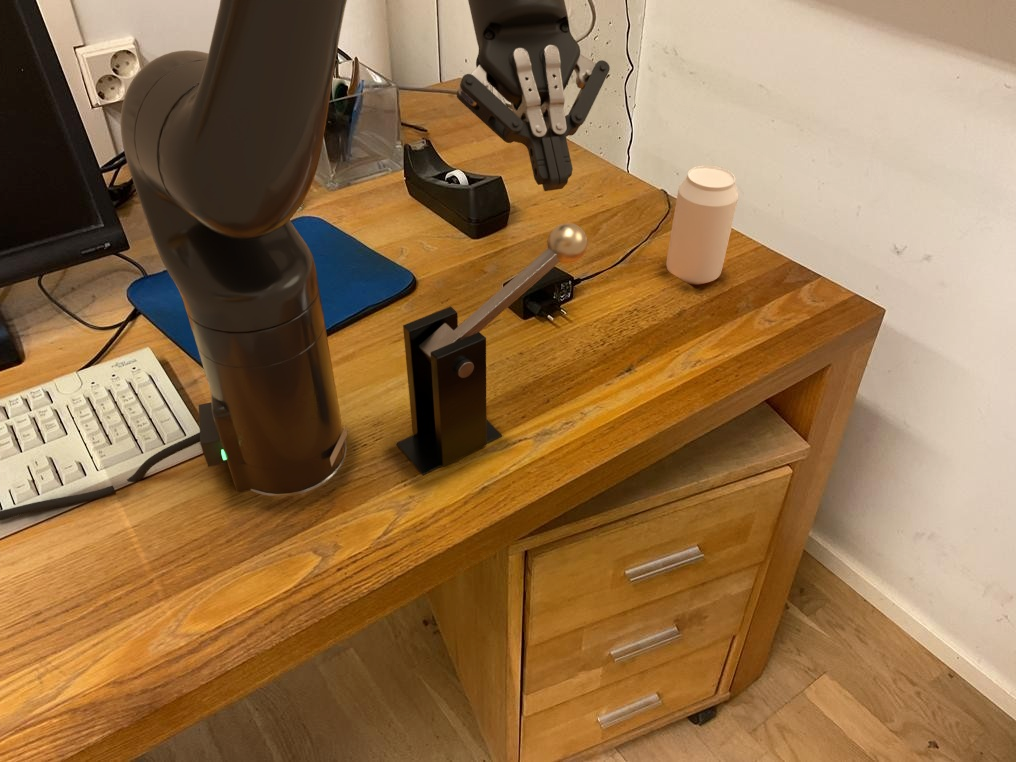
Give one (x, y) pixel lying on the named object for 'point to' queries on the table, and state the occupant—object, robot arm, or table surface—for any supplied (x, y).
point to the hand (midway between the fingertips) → (556, 186)
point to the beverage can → (702, 224)
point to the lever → (514, 286)
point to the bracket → (445, 395)
